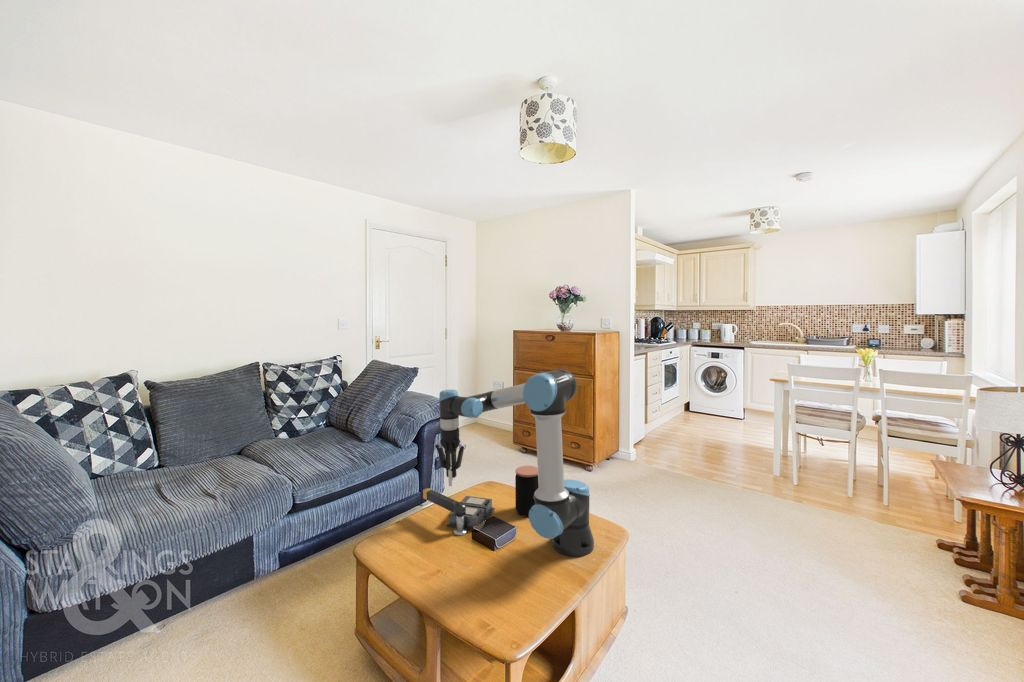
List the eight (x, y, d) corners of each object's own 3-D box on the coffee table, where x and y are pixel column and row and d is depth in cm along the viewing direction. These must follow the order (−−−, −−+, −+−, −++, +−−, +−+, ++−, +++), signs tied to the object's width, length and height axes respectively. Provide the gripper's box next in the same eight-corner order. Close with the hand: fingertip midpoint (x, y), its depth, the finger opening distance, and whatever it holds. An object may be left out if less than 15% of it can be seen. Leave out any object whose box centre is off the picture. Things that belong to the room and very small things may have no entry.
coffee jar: (537, 519, 168) (537, 476, 167) (512, 515, 171) (512, 473, 170) (542, 507, 178) (542, 466, 177) (519, 504, 181) (519, 464, 180)
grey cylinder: (468, 529, 160) (468, 512, 159) (463, 536, 155) (463, 518, 154) (457, 528, 161) (456, 510, 161) (451, 534, 156) (451, 516, 156)
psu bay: (494, 510, 176) (494, 497, 175) (479, 531, 158) (479, 517, 158) (464, 506, 180) (464, 493, 179) (446, 526, 162) (446, 512, 162)
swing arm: (468, 513, 158) (468, 504, 158) (459, 517, 154) (459, 508, 154) (430, 495, 173) (430, 487, 173) (421, 499, 170) (421, 490, 170)
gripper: (468, 426, 168) (470, 482, 169) (439, 424, 172) (441, 479, 173) (460, 431, 161) (462, 489, 162) (431, 429, 165) (433, 487, 166)
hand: (451, 484), depth 168 cm, fingers closed
